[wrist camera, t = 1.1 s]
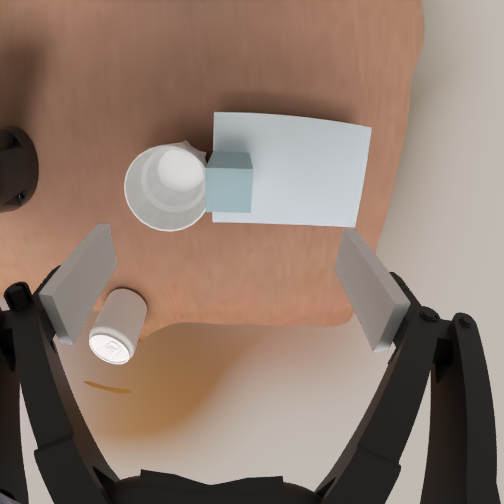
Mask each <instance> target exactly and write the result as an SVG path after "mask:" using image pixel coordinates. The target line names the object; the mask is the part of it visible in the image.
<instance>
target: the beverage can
mask: <svg viewBox="0 0 504 504" xmlns="http://www.w3.org/2000/svg"><path fill="white" fill-rule="evenodd" d="M146 315H147V306H146V303H145V302H144V300H143V299H142V298H141V297H140V296H139V295H138V294H136V293H135V292H133V291H131V290H128V289H116V290H114V291H112V292H111V293H110V294H109V296H108V298H107V300H106V302H105V303H104V305H103V307H102V309H101V311H100V313H99V315H98V317H97V319H96V321H95V323H94V326H93V328H92V330H91V332H90V335H89V338H90V342H89V344H90V347H91V349H92V351H93V352H94V353H95V354H96V355H97V356H98V357H99V358H101V359H102V360H104V361H106V362H109V363H113V364H124V363H126V362H127V361H128V360H129V359H130V358H131V357H132V356H133V354H134V351H135V348H136V345H137V342H138V339H139V336H140V333H141V330H142V326H143V323H144V320H145V318H146Z"/></svg>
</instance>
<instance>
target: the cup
mask: <svg viewBox="0 0 504 504" xmlns="http://www.w3.org/2000/svg"><path fill="white" fill-rule="evenodd" d="M205 157H206V152H202V151H199V150H197V149H196V148H194V147H192V146H191V145H190V144H189V143H188V141H187V140H186V141H183V142H181V143H171V144H166V145H160V146H157V147H153V148H149V149H148V150H146V151H144V152H143V153H141V154H139V155H138V156H137V157H136V159H135V160H134V161H133V162H132V163H131V165H130V167H129V169H128V171H127V173H126V177H125V182H124V191H125V197H126V200H127V203H128V206H129V207H130V209H131V211H132V212H133V214H134V215H135V216H136V217H137V218H138V219H139V220H140V221H141V222H142V223H144V224H146V225H148V226H149V227H151V228H154V229H157V230H161V231H177V230H182V229H185V228H187V227H189V226H191V225H193V224H194V223H195V222H196V221H198V220H199V219H200V218H201V217H202V215H203V214H204V212H205V211H206V207H205V168H206V166H207V162H206V159H205Z"/></svg>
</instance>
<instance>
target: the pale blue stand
mask: <svg viewBox="0 0 504 504" xmlns="http://www.w3.org/2000/svg"><path fill="white" fill-rule="evenodd" d="M371 129H372V128H371V127H367V126H362V125H356V124H351V123H345V122H338V121H331V120H324V119H317V118H308V117H299V116H289V115H278V114H264V113H243V112H214V132H213V153H212V155H211V157H210V159H209V161H208V164H207V166H206V168H205V207H206V212H213V222H234V223H269V224H296V225H319V226H340V227H355V224H356V219H357V214H358V209H359V204H360V199H361V194H362V188H363V182H364V177H365V171H366V164H367V158H368V151H369V144H370V137H371Z"/></svg>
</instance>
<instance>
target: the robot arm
mask: <svg viewBox="0 0 504 504" xmlns="http://www.w3.org/2000/svg"><path fill="white" fill-rule="evenodd" d="M37 180H38V162H37V156H36V152H35V149H34V146H33V144H32V142H31V140H30V139H29V137H28V136H27V135H26V134H25V133H24V132H23V131H22V130H21V129H19V128H16V127H6V128H2V129H0V213H3V212H9V211H14V210H16V209H18V208H20V207H21V206H23V205H24V204H25V203H27V202H28V201H29V200H30V198H31V197H32V195H33V193H34V191H35V188H36V185H37ZM116 267H117V261H116V256H115V251H114V246H113V240H112V235H111V229H110V224H97V225H96V226H95V228H94V229H93V230H92V231H91V232H90V233H89V234H88V235H87V236H86V237H85V238H84V240H83V241H82V242H81V243H80V244H79V245H78V246H77V247H76V249H75V250H74V251H73V252H72V253H71V254H70V255H69V257H68V258H67V259H66V260H65V261H64V263H63V264H62V265H59V266H58V267H56V268H55V269H53V270H52V271H51V272H50V273H49V275H48V276H47V278H45V279H44V281H43V283H41V284H40V286H39V287H38V288H37V290H36V291H35V292H34V293H33V295H32V294H31V291H30V289H29V286H28V284H27V283H26V282H17V283H14V284H13V285H11V286H10V287H8V288H7V289H6V291H5V292H4V298H5V300H6V302H7V304H8V306H9V308H10V310H6V311H2V310H1V308H0V504H29V502H28V491H27V484H26V478H25V471H24V464H23V457H22V446H21V433H20V407H19V400H20V399H19V398H20V384H21V388H22V393H23V397H24V401H25V405H26V409H27V413H28V416H29V420H30V423H31V427H32V430H33V433H34V436H35V439H36V442H37V446H38V449H37V450H35V451H34V456H35V460H36V463H37V465H38V468H39V471H40V473H41V475H42V478H43V480H44V483H45V485H46V487H47V489H48V491H49V494H50V496H51V498H52V500H53V502H54V504H385V502H386V500H387V498H388V496H389V494H390V492H391V491H392V489H393V486H394V484H395V482H396V480H397V478H398V476H399V473H400V471H401V466H400V465H399V460H400V457H401V455H402V452H403V450H404V448H405V445H406V443H407V440H408V438H409V435H410V432H411V430H412V427H413V425H414V422H415V419H416V416H417V413H418V410H419V407H420V404H421V401H422V397H423V394H424V391H425V388H426V384H427V380H428V377H429V373H430V371H431V411H430V432H429V445H428V454H427V463H426V470H425V478H424V483H423V489H422V495H421V501H420V504H501V503H500V499H499V493H498V488H497V484H496V476H497V449H496V448H497V447H496V429H495V417H494V408H493V400H492V393H491V387H490V381H489V375H488V370H487V365H486V360H485V356H484V351H483V347H482V343H481V339H480V335H479V331H478V328H477V324H476V322H475V321H474V320H473V318H472V317H471V316H469V315H468V314H465V313H456V314H455V315H454V317H453V319H452V321H449V320H443V319H440V317H439V315H438V313H436V312H435V311H434V310H433V309H431V308H429V307H425V306H421V305H420V303H419V302H418V301H417V299H416V298H415V296H414V295H413V293H412V292H411V291H409V288H408V287H407V286H406V285H405V283H404V281H403V280H402V279H401V278H400V277H399V276H398V275H397V274H395V273H394V272H388V270H387V269H386V268H385V266H384V265H383V264H382V262H381V261H380V260H379V258H378V257H377V256H376V254H375V253H374V252H373V250H372V249H371V248H370V247H369V245H368V244H367V243H366V241H365V240H364V239H363V238H362V236H361V235H360V234H359V233H358V231H357V230H356V229H343V233H342V238H341V243H340V248H339V252H338V257H337V261H336V266H335V272H336V274H337V276H338V278H339V280H340V282H341V284H342V286H343V288H344V290H345V292H346V294H347V296H348V298H349V300H350V302H351V304H352V307H353V309H354V311H355V313H356V315H357V317H358V319H359V321H360V324H361V325H362V328H363V330H364V332H365V335H366V337H367V339H368V341H369V344H370V346H371V348H372V350H373V353H374V352H382V351H388V350H389V348H390V346H391V344H392V342H394V344H395V346H396V349H395V351H394V353H393V354H392V356H391V358H390V360H389V362H388V367H387V369H386V372H385V373H384V376H383V378H382V380H381V382H380V384H379V386H378V389H377V391H376V393H375V395H374V397H373V399H372V401H371V403H370V405H369V407H368V409H367V411H366V413H365V414H364V417H363V418H362V420H361V422H360V424H359V425H358V427H357V429H356V431H355V432H354V434H353V436H352V438H351V439H350V441H349V443H348V444H347V446H346V448H345V449H344V451H343V452H342V454H341V456H340V457H339V459H338V460H337V462H336V464H335V465H334V467H333V468H332V469H331V471H330V472H329V474H328V475H327V476H326V477H325V479H324V480H323V481H322V482H321V484H320V485H319V486H318V487H317V489H316V490H315V491H314V492H313V491H311V490H309V489H307V488H304V487H302V486H299V485H296V484H291V483H286V482H283V477H282V476H276V477H256V478H245V479H240V480H236V481H231V482H226V483H221V484H215V485H207V484H204V483H200V482H196V481H193V480H190V479H187V478H184V477H181V476H178V475H175V474H169V473H161V472H154V471H148V470H142V469H141V474H140V476H134V477H129V478H125V479H122V480H120V479H119V478H118V477H117V475H116V474H115V473H114V472H113V470H112V469H111V468H110V467H109V465H108V464H107V462H106V461H105V459H104V457H103V455H102V453H101V452H100V450H99V448H98V447H97V444H96V442H95V441H94V439H93V437H92V435H91V433H90V431H89V429H88V427H87V425H86V423H85V421H84V418H83V416H82V414H81V412H80V410H79V407H78V405H77V403H76V401H75V398H74V396H73V393H72V391H71V388H70V386H69V383H68V380H67V378H66V375H65V372H64V370H63V367H62V364H61V361H60V358H59V355H58V352H57V349H56V346H55V343H54V341H53V337H54V336H55V334H56V335H57V337H58V339H59V341H60V343H65V344H70V345H74V343H75V341H76V339H77V337H78V335H79V333H80V331H81V329H82V327H83V325H84V323H85V321H86V320H87V318H88V316H89V314H90V312H91V310H92V308H93V307H94V305H95V303H96V301H97V299H98V298H99V296H100V294H101V292H102V290H103V289H104V287H105V285H106V284H107V282H108V280H109V278H110V277H111V275H112V273H113V272H114V270H115V268H116Z"/></svg>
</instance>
